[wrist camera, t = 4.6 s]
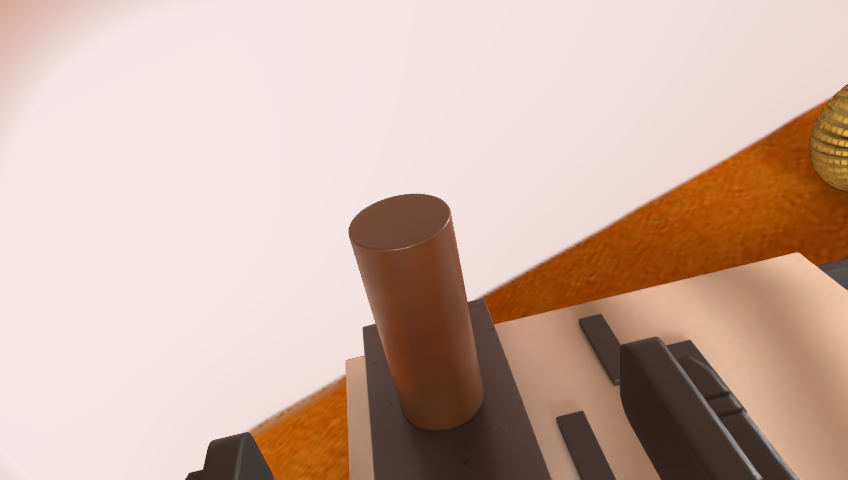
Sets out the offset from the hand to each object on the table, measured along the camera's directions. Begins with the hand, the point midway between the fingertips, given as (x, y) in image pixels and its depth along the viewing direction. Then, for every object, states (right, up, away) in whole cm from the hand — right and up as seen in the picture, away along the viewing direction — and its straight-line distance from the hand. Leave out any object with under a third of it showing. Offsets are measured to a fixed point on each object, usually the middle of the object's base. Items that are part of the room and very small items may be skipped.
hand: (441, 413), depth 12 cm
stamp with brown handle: (+1, -3, +8) cm, 9 cm away
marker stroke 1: (+7, -1, +10) cm, 12 cm away
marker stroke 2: (+5, -4, +7) cm, 9 cm away
